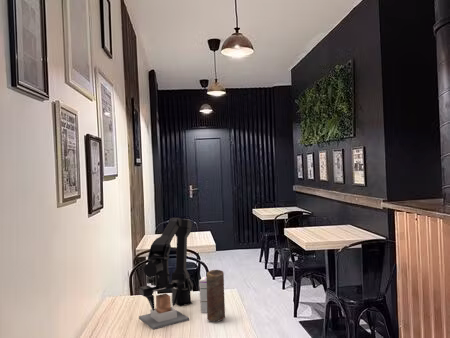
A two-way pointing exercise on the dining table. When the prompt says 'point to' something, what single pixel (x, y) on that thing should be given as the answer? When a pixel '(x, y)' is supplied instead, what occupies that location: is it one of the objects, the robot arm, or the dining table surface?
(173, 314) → the socket
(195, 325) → the dining table surface
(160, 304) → the peg
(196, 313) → the dining table surface
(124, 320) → the dining table surface
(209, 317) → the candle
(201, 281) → the syrup box
